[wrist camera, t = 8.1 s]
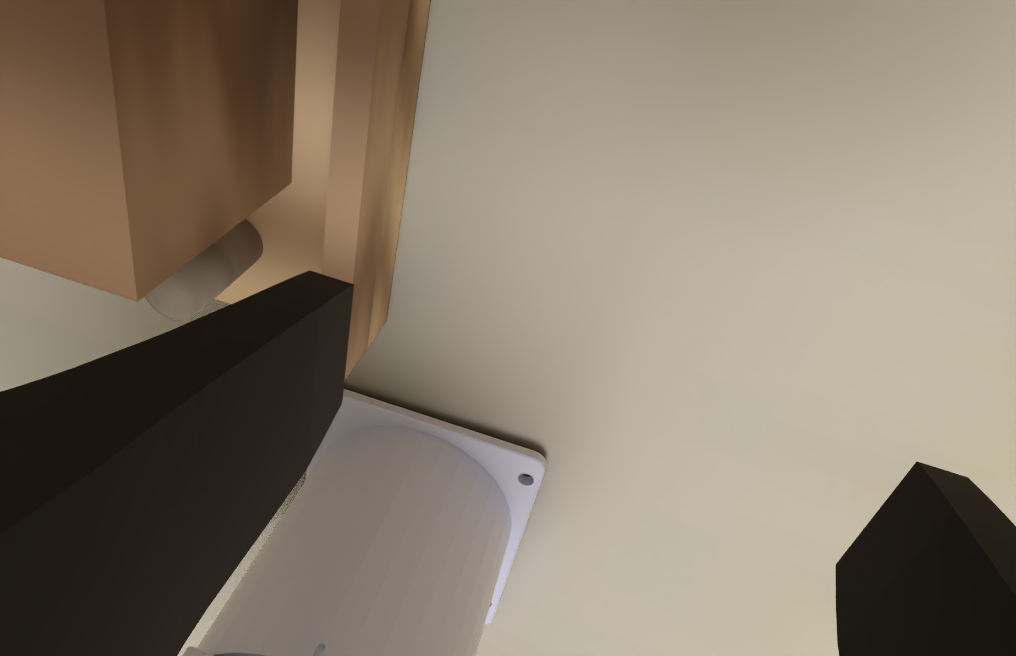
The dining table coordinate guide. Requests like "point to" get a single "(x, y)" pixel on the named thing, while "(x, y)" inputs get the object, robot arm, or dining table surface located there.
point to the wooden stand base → (329, 170)
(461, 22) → the dining table surface
